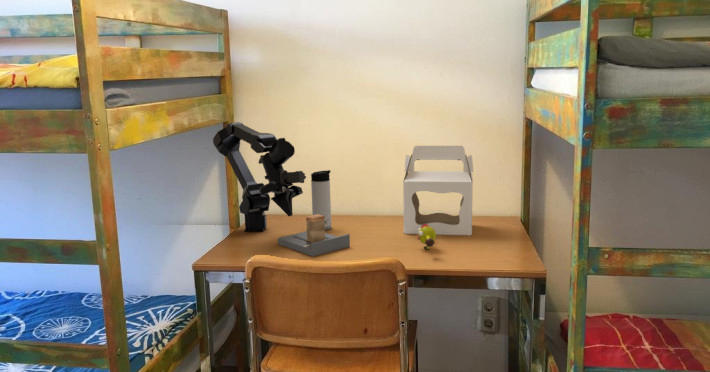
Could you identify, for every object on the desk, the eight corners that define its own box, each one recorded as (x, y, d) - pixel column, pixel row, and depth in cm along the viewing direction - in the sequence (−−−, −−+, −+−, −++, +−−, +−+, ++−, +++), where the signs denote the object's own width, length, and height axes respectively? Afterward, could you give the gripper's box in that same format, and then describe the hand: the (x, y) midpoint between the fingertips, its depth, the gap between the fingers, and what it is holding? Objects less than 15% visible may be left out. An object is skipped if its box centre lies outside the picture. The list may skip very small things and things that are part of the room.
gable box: (472, 225, 202) (473, 143, 197) (472, 235, 189) (473, 148, 184) (407, 223, 206) (406, 143, 201) (402, 233, 193) (402, 148, 188)
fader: (305, 242, 177) (304, 216, 176) (317, 239, 180) (316, 213, 179) (315, 245, 174) (314, 219, 172) (327, 242, 177) (326, 216, 175)
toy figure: (415, 240, 185) (415, 219, 184) (432, 240, 185) (433, 219, 184) (419, 258, 168) (419, 235, 166) (439, 257, 167) (439, 234, 166)
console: (278, 244, 185) (277, 230, 184) (313, 235, 194) (313, 222, 193) (313, 256, 171) (312, 241, 171) (349, 246, 180) (349, 232, 180)
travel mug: (329, 231, 199) (327, 172, 195) (310, 230, 200) (308, 171, 196) (334, 226, 205) (332, 169, 201) (315, 225, 206) (313, 168, 202)
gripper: (282, 156, 178) (299, 204, 174) (308, 163, 195) (324, 207, 192) (251, 171, 181) (268, 218, 177) (279, 177, 198) (295, 220, 195)
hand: (290, 215), depth 185 cm, fingers closed
